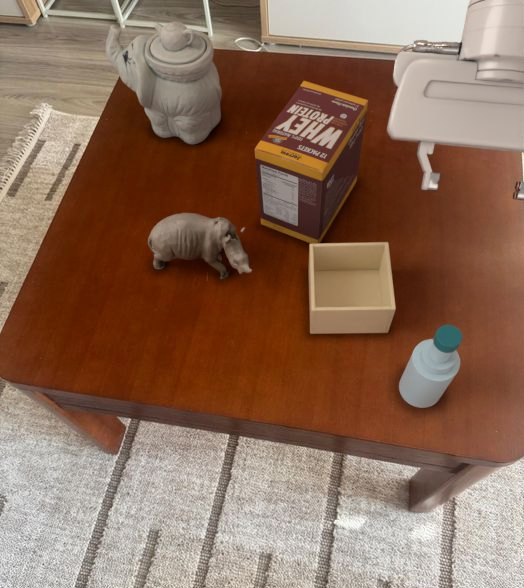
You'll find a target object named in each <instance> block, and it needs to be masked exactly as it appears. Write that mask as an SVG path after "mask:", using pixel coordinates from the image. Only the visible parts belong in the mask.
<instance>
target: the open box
mask: <svg viewBox="0 0 524 588" xmlns="http://www.w3.org/2000/svg"><path fill="white" fill-rule="evenodd" d="M308 249H309V251H308V252H309V253H308V301H309V303H308V304H309V306H308V307H309V333H310V334H311V335H312V334H313V335H314V334H315V335H317V334H319V335H321V334H388V333H389V330H390V328H391V325H392V322H393V318H394V316H395V313H396V311H397V310H396V309H397V307H396V299H395V289H394V284H393V283H394V281H393V273H392V262H391V255H390V246H389V242H388V241H377V242H376V241H375V242H371V241H369V242H327V243H326V242H325V243H323V242H322V243H321V242H320V244H311V243H309V248H308Z"/></svg>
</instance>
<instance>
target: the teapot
mask: <svg viewBox="0 0 524 588" xmlns="http://www.w3.org/2000/svg"><path fill="white" fill-rule="evenodd" d="M153 26H154V29H155V30H156V33H154V34H153V35H152V34H140V35H138V36H136V37H135V38H133V40H132V41H131V42H130V43H129V45H127V46H123V45H122V44H121V41H120V38H121V34H122V29H121V28H120V27H119V26H117V25H115V24H111V25H110V27H109V30H108V34H107V37H106V42H105V55H106V58H107V60H108V62H109V63H110V64H111V66H113V68H114V69H115V70H116V71H117V72H118V74H119V75H118V76H119V77H120V80H121V82H122V83H123V84H124V85H126V87H128V88H129V89H130V90H132V91H133V92H134V93H135V94H136V96H137V99H138V103H139V104H140V106H141V107H143V109H144V112H145V115H146V116H147V118H148V120H149V121H150V124H151V128H152V131H153V132H154V134H156V135H157V136H158V137H160V138H165V139H166V138H167V139H168V138H172V137H178V138H180V139H181V140H182V141H183V142H184V143H186V144H188V145H196V144H197V145H198V144H199V143H201V142H203V141H204V140H206V138H207V137H208V136H209V134H210V133H211V132H212V130H214V128H215V127H216V126H217V125H219V123H220V121H221V118H222V114H221V99H222V95H223V94H222V93H223V92H222V87H221V83H220V75H219V72H218V69H217V66H216V65H215V62H214V61H213V60H214V53H215V50H214V46H213V42H212V40H211V38H210V36H208V35H207V33H204V32H202V31H199V30H198V29H193V28H188V27H187V26H186V25H185V24H184V23H183V22H180V21H170V22H169V23H166V24H165V25H164V24H162V23H160V22H156V23H154V25H153Z"/></svg>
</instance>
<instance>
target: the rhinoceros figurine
mask: <svg viewBox="0 0 524 588" xmlns="http://www.w3.org/2000/svg"><path fill="white" fill-rule="evenodd" d="M245 230H246V227H245V226H244V227H242V228H241V230H240V232H241V233H244V232H245ZM147 245H148V247H149V249H150V250H151V252H152V253H153V261H152V265H153V267H154V269H156V270H162V269H164V268H166V267H165V266H166V265H165V264H166V262H171V261H173V259H180V260H185V261H192V260H197V259H202V260H204V262H206V263H207V264H208V265H209V266H210V267H212V268H213V269H215V270H216V271H218V272H219V273H220V277H219V278H220V280H222V279H224V278H225V279H226V277H228V276H229V273H230V271H227V268H226V266H225V264H224V263H222V259H223V257H222V254H221V253H220V252H222V251H223V250H224V253H225V256H226V258H227V259H228V262H229V264H230V266H231V267H232V268H233V269H236V270H237V272H238V274H239V275H242V274H243V273H246V274H250V273H252V272H253V269H252V268H250V266H249V265H250V261H249V255H248V254H247V253H246V252H245V251H244V247H243V246H242V241H241V239H240V237H239V235H238V233H237V227H236V226H235V225H234V224H233V223H232V222H231V221H230V220H229V219H227V218H226V217H223V216H222V217H221V216H218V217H215V218H211V217H208V216H205V215H202V214H200V213H197V212H196V213H195V212H193V213H192V212H181V213H175V214H172V215H170V216H167V217H164V218H163V219H162V220H160V221H158V222H157V223H156V225H154V226H153V228H152V229H151V231H150V233H149V236H148V237H147Z"/></svg>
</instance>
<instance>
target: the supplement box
mask: <svg viewBox="0 0 524 588" xmlns="http://www.w3.org/2000/svg"><path fill="white" fill-rule="evenodd" d="M368 107H369V99H365V98H362V97H359V96H355V95H352V94H350V93H345V92H343V91H340V90H336V89H332V88H329V87H327V86H322V85H319V84H316V83H314V82H310V81H306V80H303V81H302V83H300V86H299V87H298V88H297V90H296V91H295V92H294V94H293V95H292V97H291V98H290V99H289V101H288V102H287V103H286V104H285V106H284V108H283V109H282V110H281V111H280V113H278V115H277V117H276V118H275V119H274V120H273V123H272V124H271V125H270V127H269V128H268V129H267V131H266V132H265V134H264V135H263V136H262V138H261V139H260V141H259V142H258V143H257V145H256V146H255V148H254V159H255V160H254V161H255V170H256V183H257V192H258V204H259V205H258V206H259V218H260V225H262V226H265V227H267V228H269V229H272V230H275V231H277V232H280V233H282V234H285V235H287V236H289V237H293V238H296V239H298V240H300V241H303V242H306V243H308V244H321V242H322V240H323V239H324V237H325V235H326V234H327V232H328V230H329V229H330V227H331V226H332V224H333V222H334V220H335V219H336V217H337V215H338V214H339V212H340V210H341V208H342V207H343V205H344V203H345V202H346V200H347V198H348V197H349V196H350V193H351V192H352V191H353V188H354V187H355V185H356V183H357V181H358V175H359V167H360V160H361V154H362V146H363V140H364V133H365V132H364V131H365V126H366V118H367V114H368V113H367V112H368Z"/></svg>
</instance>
